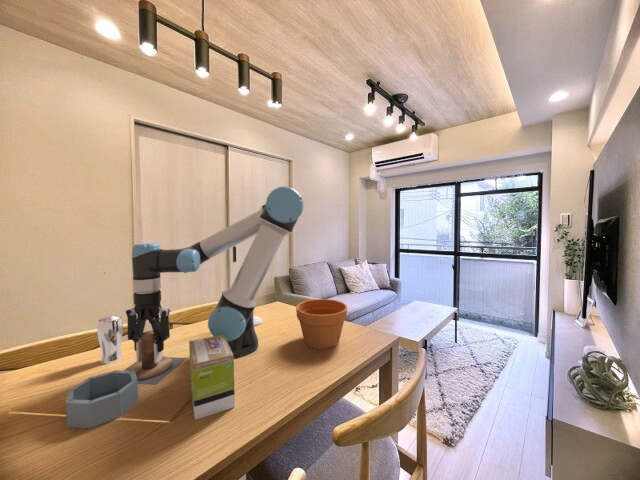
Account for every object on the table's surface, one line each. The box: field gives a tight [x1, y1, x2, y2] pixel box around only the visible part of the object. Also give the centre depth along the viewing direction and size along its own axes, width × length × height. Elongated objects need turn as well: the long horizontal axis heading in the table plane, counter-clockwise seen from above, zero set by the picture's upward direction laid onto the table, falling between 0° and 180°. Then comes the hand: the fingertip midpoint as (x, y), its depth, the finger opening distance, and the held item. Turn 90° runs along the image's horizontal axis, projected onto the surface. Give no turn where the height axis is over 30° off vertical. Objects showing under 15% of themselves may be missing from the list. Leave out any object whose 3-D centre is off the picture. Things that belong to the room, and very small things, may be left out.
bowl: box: [65, 370, 139, 429], centre depth 69 cm, size 14×14×6 cm
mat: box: [122, 356, 188, 386], centre depth 88 cm, size 16×16×1 cm
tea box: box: [188, 334, 236, 421], centre depth 73 cm, size 15×10×15 cm, turn 29°
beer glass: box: [97, 315, 124, 365], centre depth 93 cm, size 7×7×15 cm
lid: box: [125, 330, 172, 380], centre depth 87 cm, size 13×13×12 cm
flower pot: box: [295, 298, 348, 349], centre depth 110 cm, size 21×21×15 cm
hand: (149, 360), depth 87 cm, fingers open, 5 cm apart
